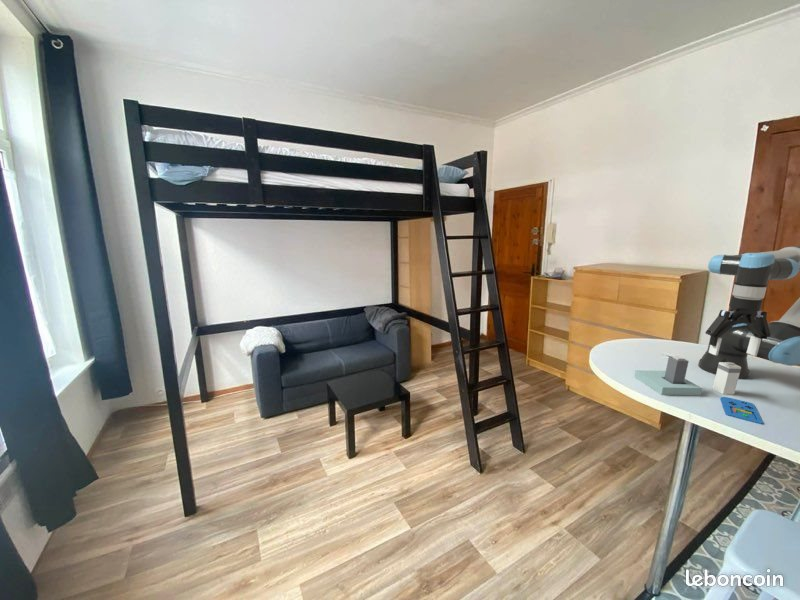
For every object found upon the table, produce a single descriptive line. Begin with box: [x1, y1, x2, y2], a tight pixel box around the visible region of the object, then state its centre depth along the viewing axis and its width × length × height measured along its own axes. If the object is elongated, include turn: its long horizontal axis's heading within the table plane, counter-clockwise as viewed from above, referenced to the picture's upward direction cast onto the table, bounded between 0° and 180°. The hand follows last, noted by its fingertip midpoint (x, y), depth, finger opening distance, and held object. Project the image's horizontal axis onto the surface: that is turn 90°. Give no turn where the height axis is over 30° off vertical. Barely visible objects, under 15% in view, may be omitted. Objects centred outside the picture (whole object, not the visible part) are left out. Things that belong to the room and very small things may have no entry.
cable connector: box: [712, 362, 741, 395], centre depth 114 cm, size 4×4×12 cm
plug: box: [664, 355, 689, 384], centre depth 117 cm, size 4×4×13 cm
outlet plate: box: [634, 369, 703, 396], centre depth 119 cm, size 14×14×3 cm
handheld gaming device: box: [719, 396, 764, 425], centre depth 104 cm, size 8×1×15 cm
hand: (732, 354), depth 112 cm, fingers open, 13 cm apart
